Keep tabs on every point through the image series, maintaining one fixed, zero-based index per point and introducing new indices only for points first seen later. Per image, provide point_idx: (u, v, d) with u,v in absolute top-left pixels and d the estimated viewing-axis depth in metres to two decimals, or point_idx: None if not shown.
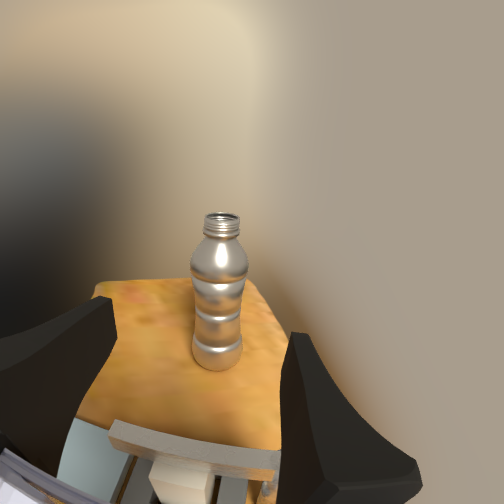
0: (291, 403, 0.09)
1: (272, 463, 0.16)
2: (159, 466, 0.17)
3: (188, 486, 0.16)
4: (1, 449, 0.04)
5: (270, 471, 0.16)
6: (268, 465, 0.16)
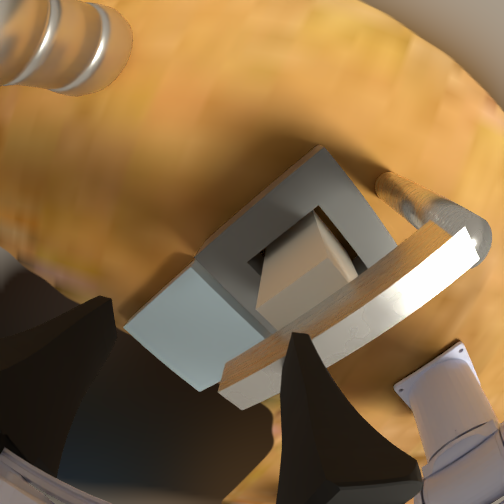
0: (291, 403, 0.09)
1: (459, 262, 0.09)
2: None
3: None
4: (1, 449, 0.04)
5: None
6: (456, 270, 0.09)
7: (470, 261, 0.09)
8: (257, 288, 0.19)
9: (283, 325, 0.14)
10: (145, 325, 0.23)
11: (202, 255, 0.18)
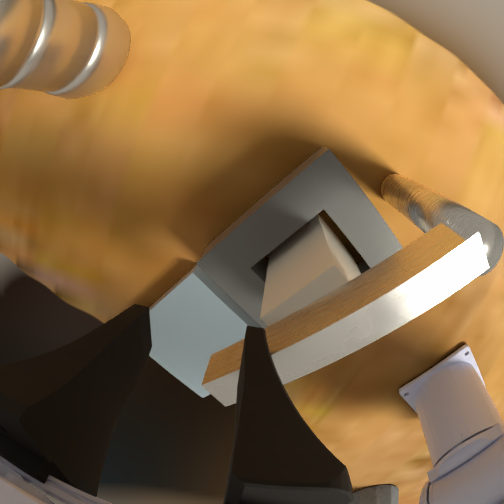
0: (239, 396, 0.09)
1: (469, 268, 0.09)
2: None
3: None
4: None
5: None
6: (465, 276, 0.09)
7: (480, 268, 0.08)
8: (261, 294, 0.18)
9: None
10: None
11: (204, 261, 0.18)
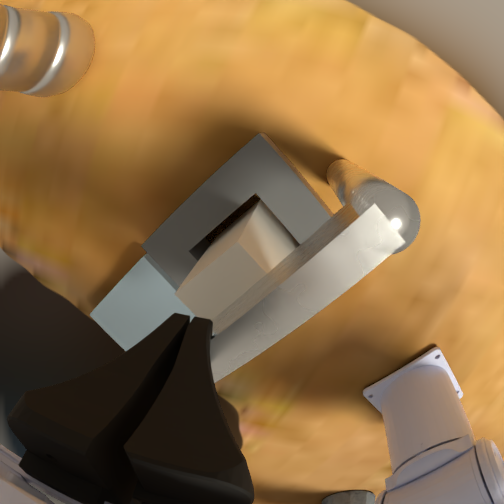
0: None
1: (375, 247, 0.09)
2: None
3: None
4: (1, 449, 0.04)
5: None
6: (373, 257, 0.09)
7: (392, 245, 0.09)
8: None
9: (202, 312, 0.14)
10: (108, 313, 0.23)
11: (148, 244, 0.18)
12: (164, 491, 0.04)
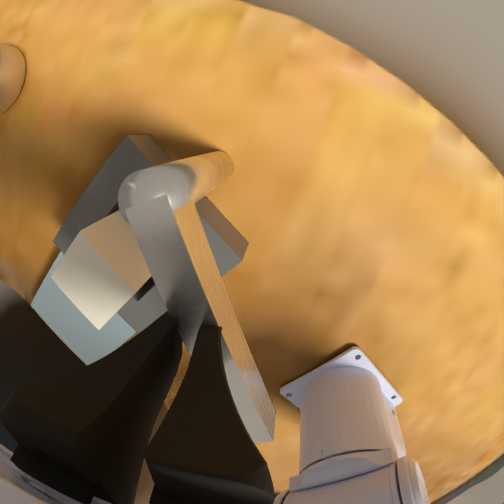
0: None
1: (161, 224, 0.09)
2: (87, 310, 0.14)
3: (122, 302, 0.14)
4: (1, 449, 0.04)
5: (179, 218, 0.09)
6: (169, 229, 0.09)
7: (164, 208, 0.09)
8: None
9: (70, 293, 0.14)
10: (43, 303, 0.23)
11: (57, 239, 0.19)
12: (183, 496, 0.04)
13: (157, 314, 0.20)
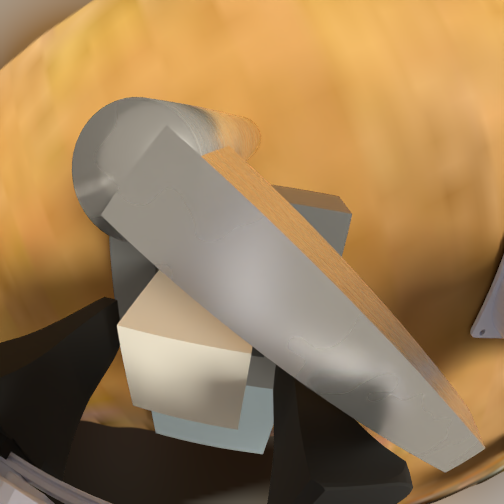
0: (283, 402, 0.09)
1: (187, 198, 0.04)
2: (205, 416, 0.09)
3: (243, 379, 0.08)
4: None
5: (221, 169, 0.04)
6: (211, 200, 0.04)
7: (175, 158, 0.04)
8: None
9: (169, 409, 0.10)
10: (166, 424, 0.20)
11: None
12: None
13: None
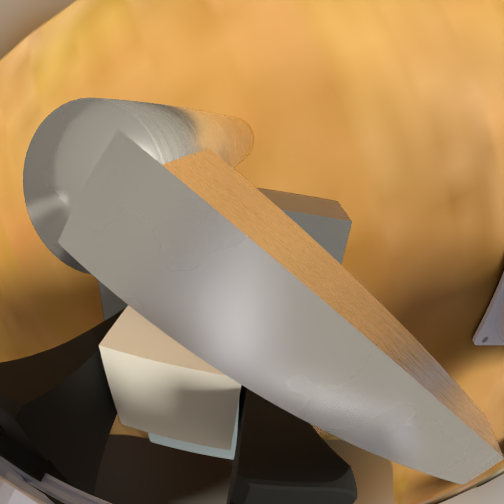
0: (242, 397, 0.09)
1: (150, 219, 0.03)
2: (196, 437, 0.09)
3: (234, 403, 0.08)
4: None
5: (192, 179, 0.03)
6: (179, 221, 0.03)
7: (132, 169, 0.03)
8: None
9: (158, 429, 0.09)
10: None
11: None
12: None
13: None
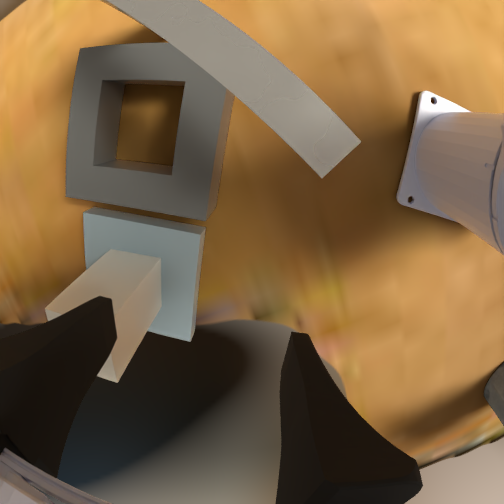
0: (291, 403, 0.09)
1: None
2: None
3: None
4: (1, 449, 0.04)
5: None
6: None
7: None
8: (115, 179, 0.17)
9: None
10: None
11: (68, 189, 0.17)
12: None
13: (199, 171, 0.16)
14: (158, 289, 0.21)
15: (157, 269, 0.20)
